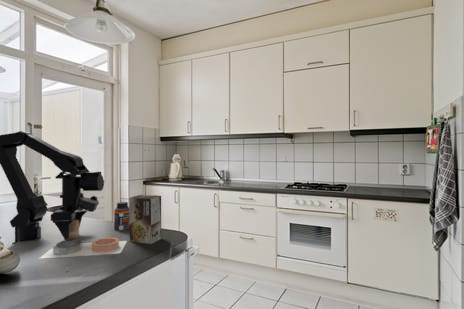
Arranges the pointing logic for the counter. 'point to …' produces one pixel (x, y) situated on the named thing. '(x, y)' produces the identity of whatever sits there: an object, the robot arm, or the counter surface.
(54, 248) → the grey ring
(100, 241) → the terracotta socket
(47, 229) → the counter surface
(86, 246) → the socket board
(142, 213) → the coffee box
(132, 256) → the counter surface
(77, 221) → the banded peg
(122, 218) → the supplement bottle
